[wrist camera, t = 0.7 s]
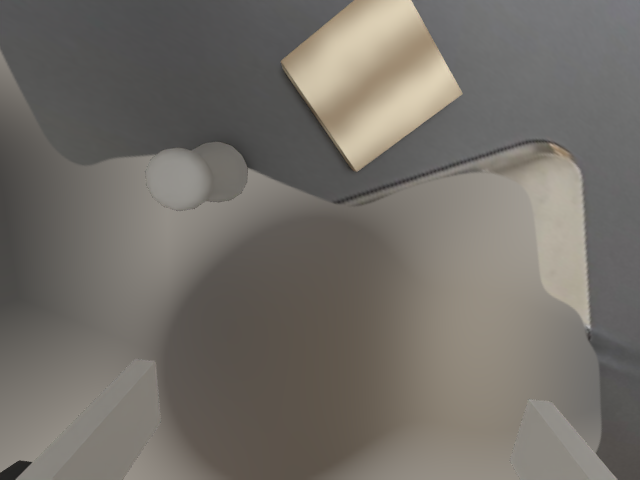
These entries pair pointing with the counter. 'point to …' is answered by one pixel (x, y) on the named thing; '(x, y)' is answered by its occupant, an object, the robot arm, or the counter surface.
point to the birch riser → (371, 77)
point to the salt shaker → (196, 175)
